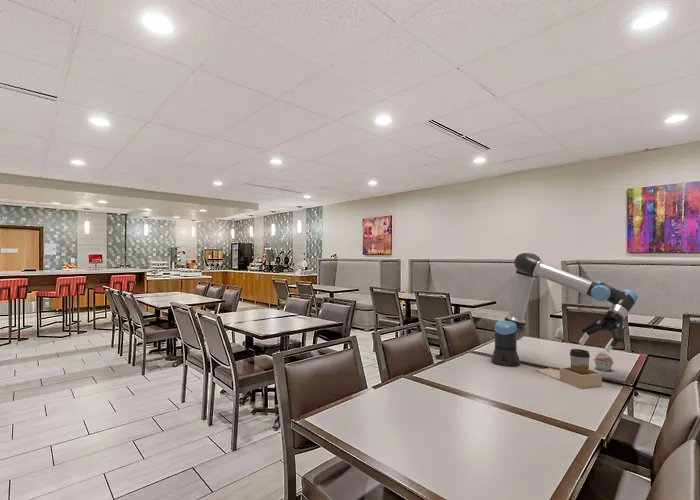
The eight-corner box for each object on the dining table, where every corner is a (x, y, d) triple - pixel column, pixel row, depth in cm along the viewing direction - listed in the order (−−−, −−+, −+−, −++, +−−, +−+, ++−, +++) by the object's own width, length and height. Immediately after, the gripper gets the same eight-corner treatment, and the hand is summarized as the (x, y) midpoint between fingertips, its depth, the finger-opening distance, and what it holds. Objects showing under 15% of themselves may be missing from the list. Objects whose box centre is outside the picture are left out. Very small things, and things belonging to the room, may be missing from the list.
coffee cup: (584, 379, 179) (583, 349, 179) (593, 385, 170) (593, 353, 171) (566, 378, 179) (566, 348, 180) (575, 384, 171) (575, 352, 172)
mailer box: (534, 371, 193) (534, 359, 193) (552, 369, 197) (552, 358, 197) (582, 388, 167) (582, 375, 167) (601, 386, 171) (601, 373, 171)
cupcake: (618, 372, 193) (618, 353, 193) (600, 372, 193) (600, 353, 194) (606, 367, 202) (606, 349, 203) (589, 366, 203) (589, 349, 203)
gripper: (645, 324, 171) (623, 359, 166) (595, 316, 195) (574, 346, 190) (637, 314, 169) (614, 348, 164) (588, 307, 193) (566, 336, 188)
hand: (593, 347), depth 177 cm, fingers open, 13 cm apart
